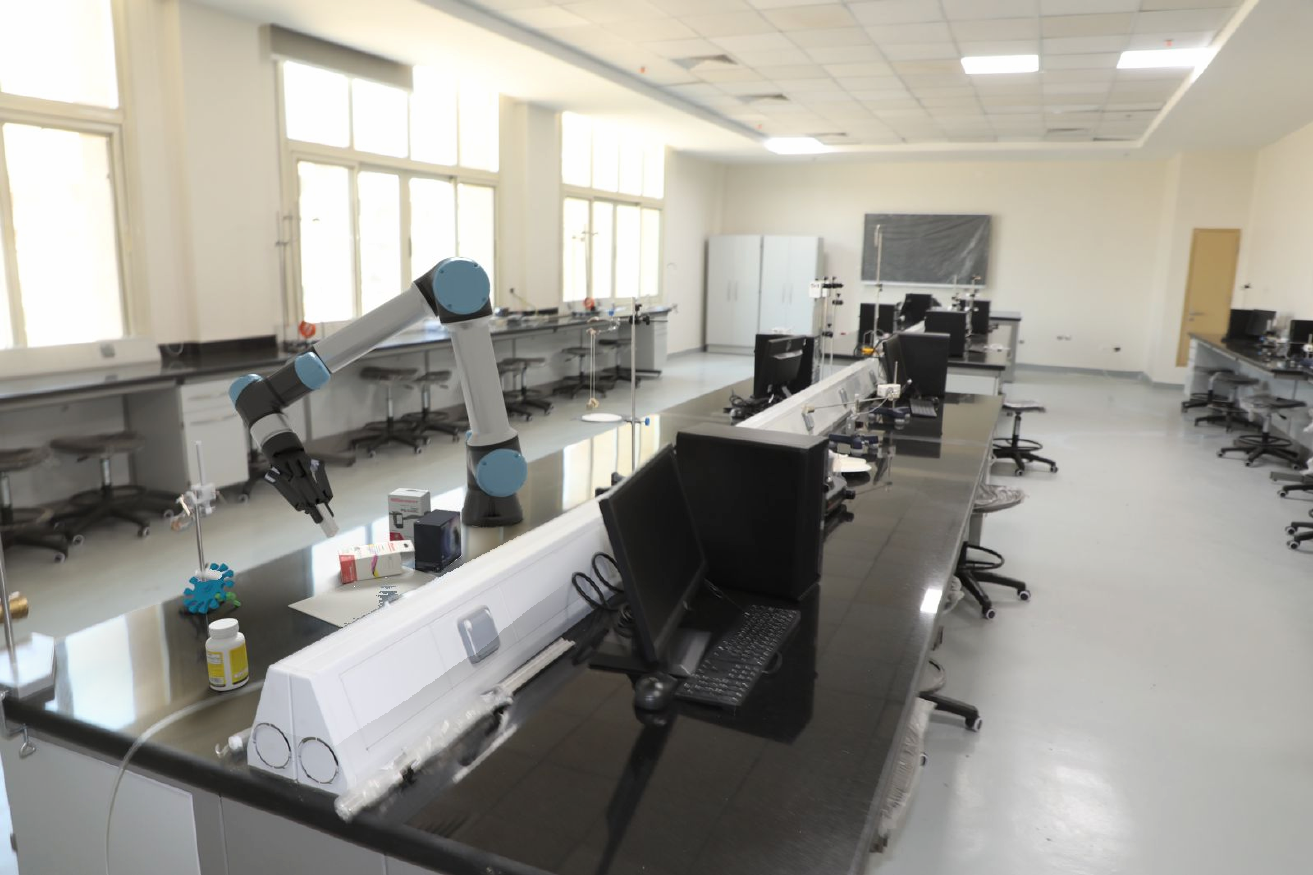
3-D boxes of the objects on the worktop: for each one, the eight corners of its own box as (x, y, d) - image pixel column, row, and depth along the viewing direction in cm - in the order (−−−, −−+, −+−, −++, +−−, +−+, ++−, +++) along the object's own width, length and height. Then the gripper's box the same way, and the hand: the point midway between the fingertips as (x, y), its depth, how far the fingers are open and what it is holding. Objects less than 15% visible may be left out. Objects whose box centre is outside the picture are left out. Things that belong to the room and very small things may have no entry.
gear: (170, 600, 156) (205, 554, 160) (192, 613, 160) (225, 567, 165) (208, 621, 151) (243, 572, 155) (229, 632, 156) (263, 585, 160)
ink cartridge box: (342, 585, 169) (417, 572, 174) (339, 561, 168) (415, 549, 173) (340, 570, 176) (412, 559, 182) (337, 548, 175) (410, 537, 181)
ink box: (388, 543, 193) (385, 493, 191) (399, 536, 198) (396, 487, 195) (423, 546, 191) (420, 495, 189) (433, 539, 196) (431, 490, 194)
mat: (400, 566, 179) (400, 565, 179) (459, 584, 169) (459, 584, 169) (288, 606, 158) (288, 605, 158) (348, 630, 148) (348, 629, 148)
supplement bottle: (249, 672, 133) (244, 614, 131) (248, 687, 128) (242, 627, 126) (211, 678, 131) (204, 619, 129) (208, 694, 126) (201, 633, 124)
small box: (442, 573, 175) (440, 525, 173) (413, 570, 176) (411, 522, 174) (463, 556, 185) (462, 510, 183) (436, 553, 187) (434, 508, 184)
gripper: (299, 446, 181) (353, 535, 175) (241, 457, 170) (297, 552, 165) (313, 425, 177) (368, 515, 171) (254, 435, 166) (311, 531, 161)
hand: (333, 533), depth 168 cm, fingers closed
